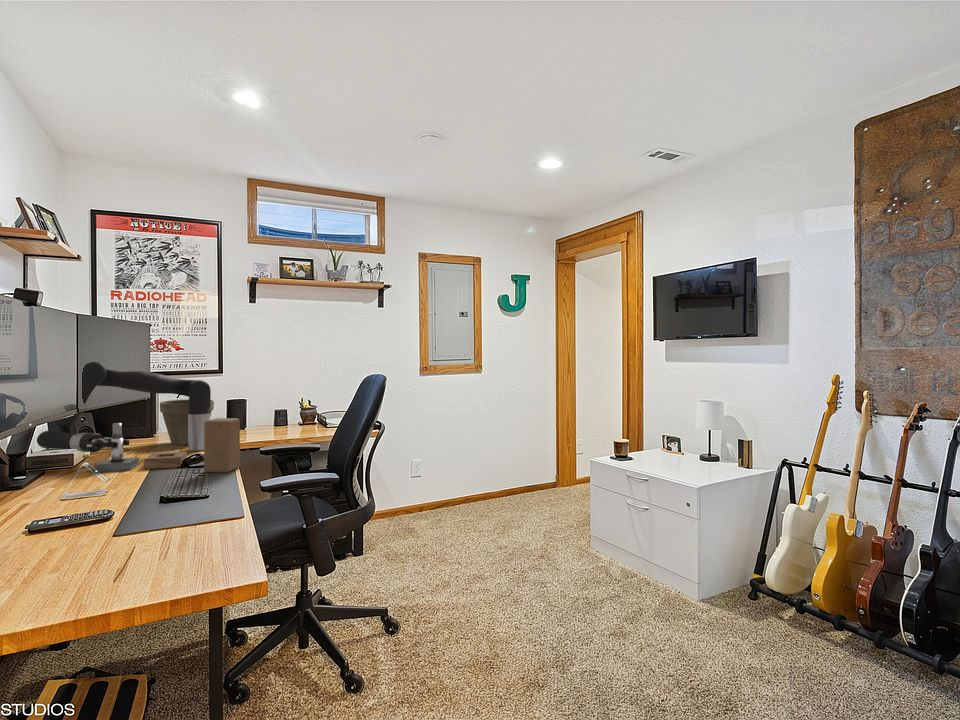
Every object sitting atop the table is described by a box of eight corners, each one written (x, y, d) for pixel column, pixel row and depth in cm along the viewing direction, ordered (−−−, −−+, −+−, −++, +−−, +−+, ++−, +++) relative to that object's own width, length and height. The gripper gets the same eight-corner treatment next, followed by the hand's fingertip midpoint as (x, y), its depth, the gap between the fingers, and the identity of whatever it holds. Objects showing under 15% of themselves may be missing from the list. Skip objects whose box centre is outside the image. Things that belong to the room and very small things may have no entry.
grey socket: (104, 466, 220) (104, 459, 220) (138, 464, 224) (138, 457, 224) (94, 472, 209) (94, 464, 209) (130, 470, 213) (130, 462, 213)
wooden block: (229, 472, 208) (228, 420, 208) (203, 472, 208) (202, 420, 208) (241, 467, 218) (240, 417, 218) (216, 467, 218) (216, 417, 218)
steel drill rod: (113, 467, 218) (112, 423, 218) (124, 467, 219) (124, 422, 219) (110, 469, 214) (109, 424, 214) (121, 469, 215) (121, 423, 215)
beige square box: (151, 463, 227) (151, 453, 227) (186, 461, 231) (186, 451, 231) (144, 469, 215) (144, 459, 215) (181, 466, 219) (181, 457, 219)
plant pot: (208, 445, 271) (208, 402, 271) (153, 448, 265) (152, 403, 265) (218, 438, 295) (218, 398, 295) (168, 440, 289) (167, 399, 289)
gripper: (70, 435, 212) (107, 436, 209) (102, 430, 226) (137, 431, 223) (70, 454, 212) (107, 456, 209) (102, 448, 226) (137, 449, 223)
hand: (122, 443), depth 216 cm, fingers open, 5 cm apart
